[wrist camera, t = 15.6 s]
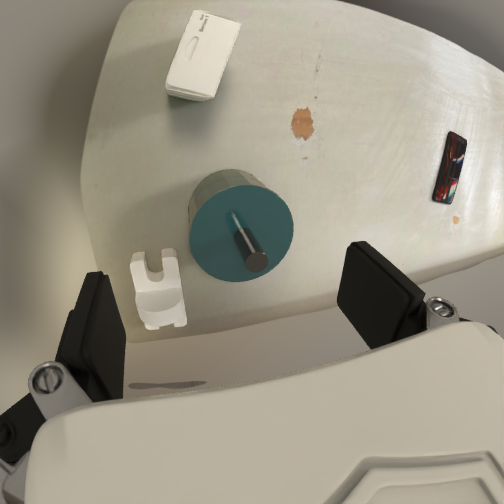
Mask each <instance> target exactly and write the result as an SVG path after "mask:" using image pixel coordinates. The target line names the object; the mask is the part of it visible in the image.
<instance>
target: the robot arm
mask: <svg viewBox="0 0 504 504" xmlns="http://www.w3.org/2000/svg"><path fill="white" fill-rule="evenodd" d="M424 296H425V293H424V292H423V291H422V290H421V289H420V288H419V287H418V286H417V285H416V284H415V283H414V282H412V281H411V280H410V279H409V278H408V277H407V276H406V275H405V274H403V273H402V272H401V271H400V270H399V269H398V268H397V267H395V266H394V265H393V264H392V263H391V262H390V261H389V260H387V259H386V258H385V257H384V256H383V255H382V254H380V253H379V252H378V251H377V250H376V249H374V248H373V247H372V246H371V245H370V244H368V243H367V242H366V241H358V242H352V243H351V244H350V246H349V247H348V248H347V251H346V256H345V262H344V267H343V272H342V277H341V282H340V287H339V291H338V296H337V304H338V306H339V308H340V309H341V310H342V312H343V313H344V314H345V316H346V317H347V318H348V320H349V321H350V322H351V323H352V325H353V326H354V328H355V329H356V330H357V332H358V333H359V334H360V336H361V337H362V338H363V340H364V341H365V342H366V344H367V345H368V346H369V348H370V349H371V350H369V351H366V352H363V353H360V354H356V355H353V356H350V357H346V358H343V359H340V360H336V361H333V362H329V363H326V364H322V365H319V366H315V367H311V368H307V369H303V370H299V371H295V372H290V373H287V374H282V375H277V376H273V377H269V378H263V379H259V380H255V381H249V382H244V383H239V384H233V385H227V386H221V387H215V388H208V389H202V390H195V391H187V392H180V393H172V394H164V395H155V396H145V397H135V398H125V399H123V377H124V359H125V346H126V345H125V344H126V333H125V329H124V326H123V323H122V320H121V317H120V314H119V310H118V307H117V304H116V300H115V297H114V294H113V290H112V287H111V283H110V279H109V276H108V275H104V274H103V272H102V271H98V272H89V273H87V274H86V277H85V279H84V282H83V285H82V288H81V290H80V293H79V296H78V299H77V302H76V305H75V308H74V310H71V311H70V312H69V315H68V318H67V321H66V324H65V327H64V330H63V334H62V337H61V340H60V344H59V347H58V351H57V354H56V358H55V361H48V362H44V363H42V364H40V365H38V366H37V367H36V368H35V369H34V370H33V371H32V372H31V374H30V376H29V379H28V388H29V390H30V393H28V394H27V395H26V396H25V397H23V398H22V399H21V400H20V401H18V402H17V403H16V404H14V405H13V406H12V407H11V408H9V409H8V410H7V411H6V412H4V413H3V414H2V415H0V504H504V340H503V339H502V338H501V337H500V336H499V335H498V333H497V332H496V331H495V329H494V328H493V327H491V326H488V325H485V324H482V323H478V322H473V321H470V320H467V319H463V318H459V315H458V311H457V309H456V307H455V306H454V304H452V303H451V302H450V301H448V300H446V299H444V298H441V297H431V298H429V299H428V300H427V301H426V303H425V302H424V301H423V298H424Z"/></svg>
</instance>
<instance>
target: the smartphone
mask: <svg viewBox="0 0 504 504" xmlns="http://www.w3.org/2000/svg"><path fill="white" fill-rule="evenodd" d="M466 147H467V140H466V139H464V138H463V137H461V136H459V135H457V134H456V133H454V132H451V131H450V132H449V133H448V138H447V143H446V147H445V152H444V156H443V160H442V165H441V169H440V173H439V176H438V180H437V184H436V187H435V191H434V195H433V200H434V201H437V202H441V203H445V204H451V203H452V201H453V198H454V194H455V191H456V187H457V184H458V180H459V176H460V172H461V169H462V164H463V160H464V156H465V151H466Z"/></svg>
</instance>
